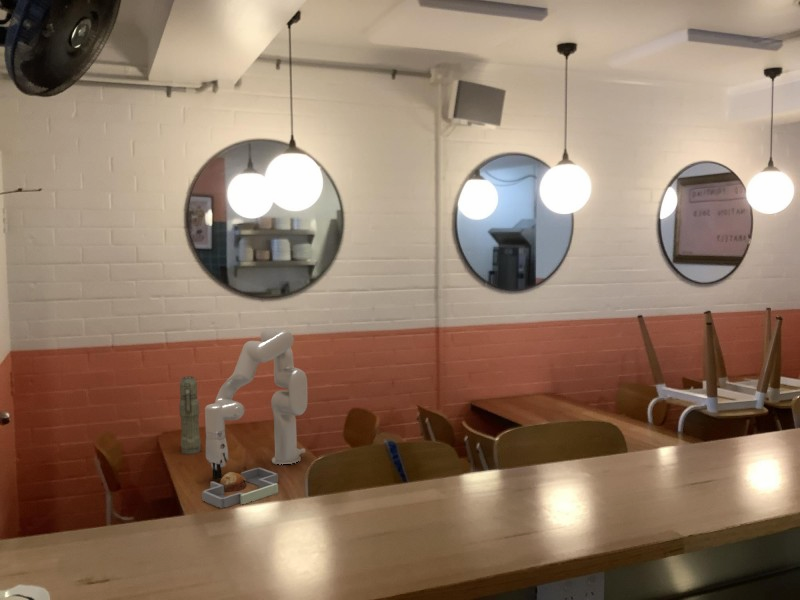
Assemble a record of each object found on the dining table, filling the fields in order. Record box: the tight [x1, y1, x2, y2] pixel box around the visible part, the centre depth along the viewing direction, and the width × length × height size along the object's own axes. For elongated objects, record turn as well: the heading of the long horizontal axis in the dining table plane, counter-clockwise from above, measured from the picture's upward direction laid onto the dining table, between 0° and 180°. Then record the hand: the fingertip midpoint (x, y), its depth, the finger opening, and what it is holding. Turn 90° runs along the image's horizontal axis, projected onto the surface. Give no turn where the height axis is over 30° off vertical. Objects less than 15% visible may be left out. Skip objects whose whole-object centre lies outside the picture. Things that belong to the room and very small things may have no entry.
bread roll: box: [219, 471, 248, 493], centre depth 288 cm, size 10×10×8 cm
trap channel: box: [201, 467, 279, 509], centre depth 283 cm, size 31×22×4 cm
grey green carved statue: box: [178, 376, 202, 456], centre depth 335 cm, size 9×12×35 cm
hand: (217, 478), depth 295 cm, fingers closed
